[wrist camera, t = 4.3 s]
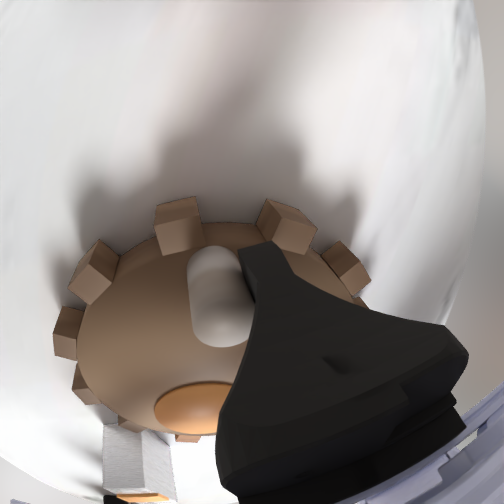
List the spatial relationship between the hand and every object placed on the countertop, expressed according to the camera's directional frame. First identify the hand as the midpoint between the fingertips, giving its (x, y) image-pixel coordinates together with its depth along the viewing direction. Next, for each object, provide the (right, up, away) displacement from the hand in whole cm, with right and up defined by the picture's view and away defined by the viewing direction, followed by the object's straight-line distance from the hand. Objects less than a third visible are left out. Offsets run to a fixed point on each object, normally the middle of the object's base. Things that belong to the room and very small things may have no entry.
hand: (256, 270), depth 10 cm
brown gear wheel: (-2, -4, +6) cm, 8 cm away
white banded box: (-10, -15, +10) cm, 21 cm away
